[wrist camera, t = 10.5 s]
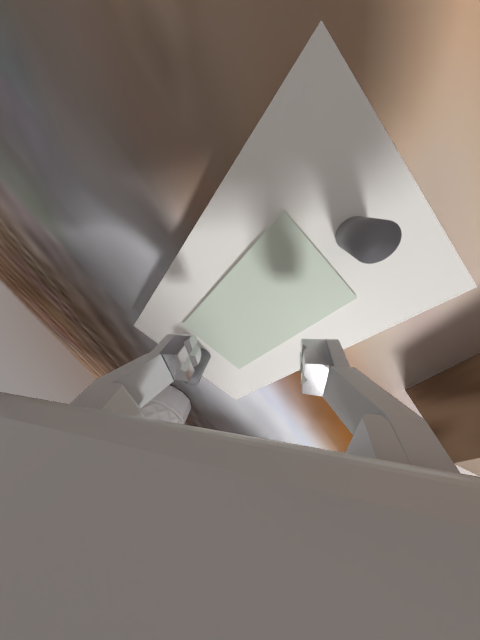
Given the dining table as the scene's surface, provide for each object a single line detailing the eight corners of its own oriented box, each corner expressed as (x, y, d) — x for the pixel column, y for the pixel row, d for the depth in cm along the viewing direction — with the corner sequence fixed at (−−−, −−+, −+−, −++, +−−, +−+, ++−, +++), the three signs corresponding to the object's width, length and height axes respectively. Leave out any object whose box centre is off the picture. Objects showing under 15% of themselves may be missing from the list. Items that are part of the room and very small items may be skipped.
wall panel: (238, 389, 19) (228, 426, 16) (142, 318, 16) (108, 346, 13) (456, 278, 9) (544, 315, 6) (315, 49, 6) (345, -104, 3)
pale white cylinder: (187, 420, 26) (142, 520, 18) (138, 397, 25) (67, 490, 17) (203, 397, 21) (153, 517, 13) (144, 368, 20) (51, 476, 12)
